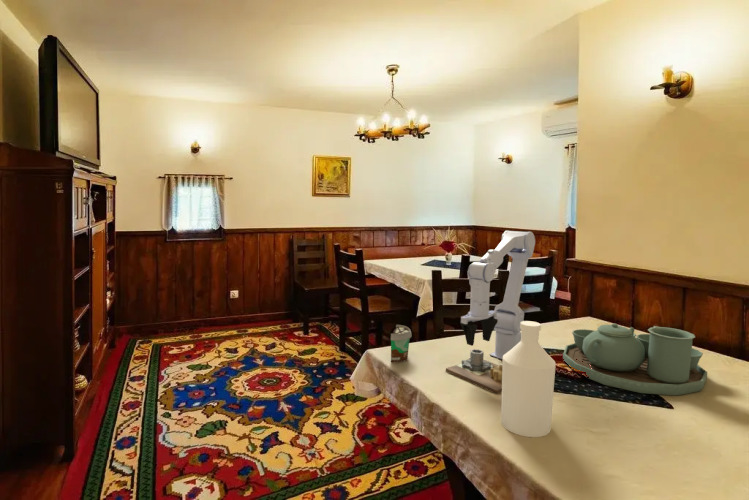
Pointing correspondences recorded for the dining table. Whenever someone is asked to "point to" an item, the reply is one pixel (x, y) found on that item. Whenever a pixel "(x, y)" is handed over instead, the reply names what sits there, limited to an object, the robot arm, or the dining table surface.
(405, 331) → the food container
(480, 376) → the carrier board
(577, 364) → the tea set
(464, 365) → the planet gear
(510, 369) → the bottle
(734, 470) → the dining table surface
